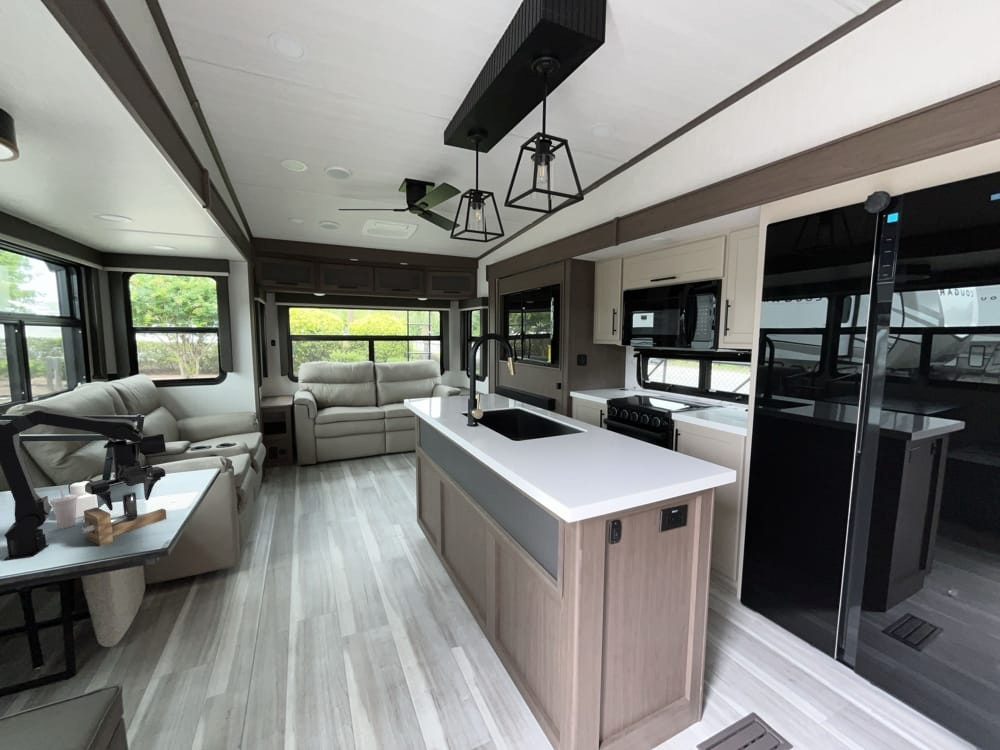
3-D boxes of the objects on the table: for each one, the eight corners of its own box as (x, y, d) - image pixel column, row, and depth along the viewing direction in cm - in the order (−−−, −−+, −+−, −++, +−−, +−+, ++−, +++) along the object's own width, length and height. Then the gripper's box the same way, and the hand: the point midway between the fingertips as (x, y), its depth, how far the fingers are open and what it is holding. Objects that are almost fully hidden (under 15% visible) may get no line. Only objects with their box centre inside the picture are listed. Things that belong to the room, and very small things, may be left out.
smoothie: (47, 531, 131) (42, 490, 129) (62, 522, 137) (58, 483, 135) (71, 529, 132) (67, 488, 131) (85, 520, 139) (81, 481, 137)
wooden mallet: (100, 545, 122) (97, 517, 121) (86, 538, 127) (83, 510, 126) (172, 521, 138) (169, 495, 137) (157, 515, 143) (155, 490, 142)
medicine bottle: (70, 513, 144) (66, 481, 143) (98, 507, 149) (94, 476, 148) (68, 520, 139) (65, 486, 138) (97, 513, 144) (94, 481, 143)
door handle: (85, 535, 121) (82, 508, 121) (81, 532, 123) (78, 506, 122) (139, 517, 133) (137, 493, 132) (135, 515, 134) (132, 491, 134)
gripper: (97, 471, 118) (102, 521, 120) (172, 454, 135) (175, 499, 136) (81, 465, 123) (86, 514, 125) (155, 450, 140) (159, 493, 141)
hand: (129, 504), depth 132 cm, fingers open, 9 cm apart
